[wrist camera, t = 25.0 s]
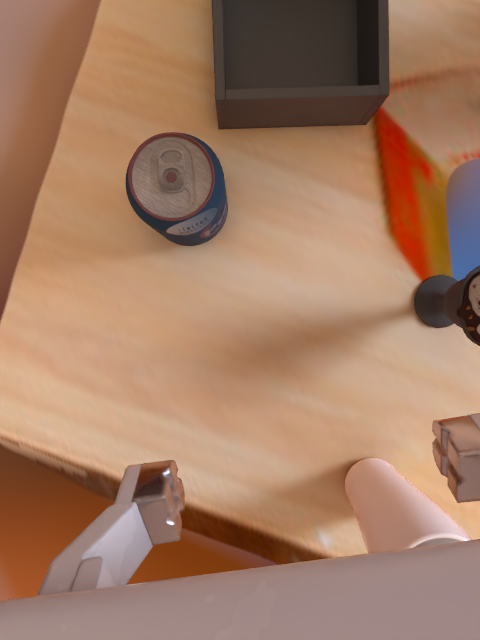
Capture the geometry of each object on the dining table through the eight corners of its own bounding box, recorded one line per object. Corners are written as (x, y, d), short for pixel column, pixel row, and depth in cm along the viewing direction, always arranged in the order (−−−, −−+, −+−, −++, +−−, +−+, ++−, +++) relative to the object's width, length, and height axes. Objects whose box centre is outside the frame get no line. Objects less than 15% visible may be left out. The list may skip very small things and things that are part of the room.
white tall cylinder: (321, 491, 43) (366, 598, 28) (362, 434, 43) (429, 512, 28) (378, 529, 43) (453, 655, 28) (419, 473, 43) (516, 571, 28)
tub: (364, -31, 40) (387, -90, 34) (366, 124, 41) (389, 94, 34) (213, -26, 40) (209, -85, 34) (218, 129, 41) (215, 100, 34)
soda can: (228, 246, 41) (224, 228, 29) (154, 247, 41) (120, 230, 29) (227, 171, 41) (222, 121, 29) (152, 172, 41) (116, 123, 29)
